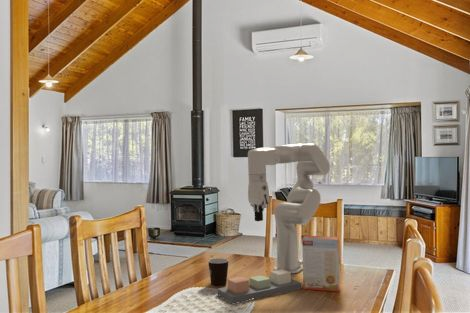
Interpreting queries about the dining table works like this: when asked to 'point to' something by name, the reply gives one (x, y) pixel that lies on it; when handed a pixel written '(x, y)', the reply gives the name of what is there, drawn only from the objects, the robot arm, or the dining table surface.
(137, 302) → the dining table surface
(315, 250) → the cracker box
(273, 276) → the cream button
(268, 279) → the sage button
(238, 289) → the terracotta button
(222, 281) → the coffee mug
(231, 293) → the button panel
